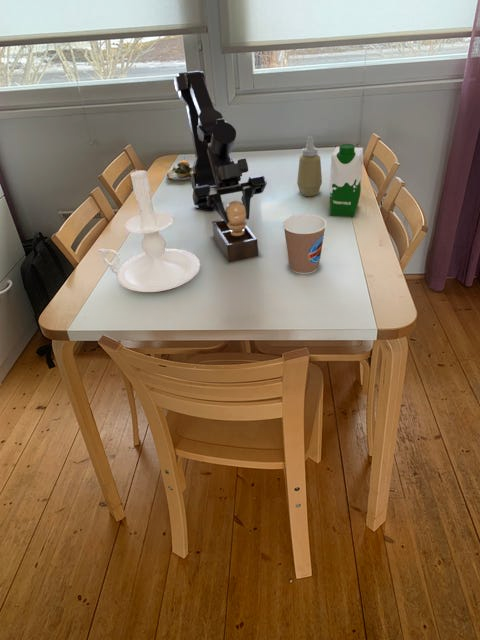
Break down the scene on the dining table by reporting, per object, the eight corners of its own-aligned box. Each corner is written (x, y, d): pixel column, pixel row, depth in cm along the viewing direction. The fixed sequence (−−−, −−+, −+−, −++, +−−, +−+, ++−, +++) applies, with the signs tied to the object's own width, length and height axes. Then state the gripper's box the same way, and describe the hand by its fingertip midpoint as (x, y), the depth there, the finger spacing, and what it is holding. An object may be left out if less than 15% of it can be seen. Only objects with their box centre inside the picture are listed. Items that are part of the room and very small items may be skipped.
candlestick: (120, 258, 129) (93, 155, 112) (208, 259, 125) (195, 152, 108) (90, 301, 112) (54, 188, 96) (191, 303, 109) (172, 186, 92)
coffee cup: (314, 281, 112) (315, 236, 105) (276, 272, 117) (274, 228, 110) (331, 262, 119) (333, 218, 112) (294, 253, 124) (294, 211, 117)
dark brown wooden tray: (228, 262, 123) (226, 245, 120) (213, 237, 135) (211, 221, 132) (258, 256, 124) (257, 239, 121) (241, 232, 136) (239, 216, 133)
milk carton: (326, 216, 140) (329, 148, 129) (332, 204, 147) (335, 138, 135) (356, 218, 138) (362, 149, 126) (360, 206, 145) (366, 139, 133)
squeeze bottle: (294, 196, 154) (293, 140, 143) (300, 187, 160) (301, 132, 149) (318, 199, 151) (319, 141, 141) (324, 189, 157) (326, 133, 146)
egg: (224, 235, 122) (220, 204, 117) (233, 227, 126) (230, 196, 121) (241, 238, 120) (239, 207, 115) (250, 230, 124) (248, 199, 119)
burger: (161, 178, 177) (157, 158, 172) (186, 169, 183) (183, 150, 179) (180, 185, 170) (177, 165, 165) (205, 176, 176) (203, 156, 171)
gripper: (188, 154, 112) (205, 215, 110) (262, 142, 116) (279, 201, 114) (186, 176, 123) (201, 232, 121) (254, 164, 126) (269, 218, 124)
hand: (237, 221), depth 120 cm, fingers closed on egg, 5 cm apart
